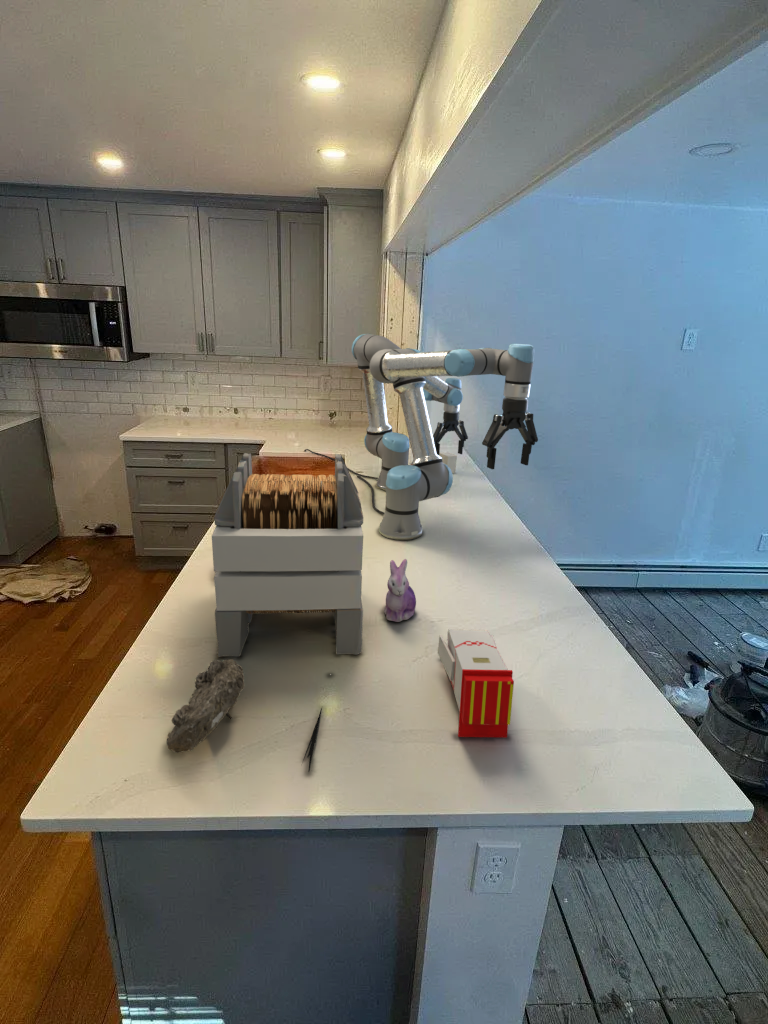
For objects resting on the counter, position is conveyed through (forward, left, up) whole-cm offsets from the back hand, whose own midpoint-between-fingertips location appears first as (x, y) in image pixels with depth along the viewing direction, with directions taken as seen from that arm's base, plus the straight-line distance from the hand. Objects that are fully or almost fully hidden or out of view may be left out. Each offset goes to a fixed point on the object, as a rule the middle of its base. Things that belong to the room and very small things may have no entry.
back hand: (448, 455), depth 277 cm
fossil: (+28, -190, -9) cm, 192 cm away
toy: (+68, -157, -9) cm, 172 cm away
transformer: (+20, -153, -9) cm, 154 cm away
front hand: (+51, -84, +21) cm, 101 cm away
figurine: (+41, -136, -9) cm, 143 cm away
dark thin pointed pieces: (+46, -180, -9) cm, 186 cm away
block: (0, 0, -9) cm, 9 cm away
